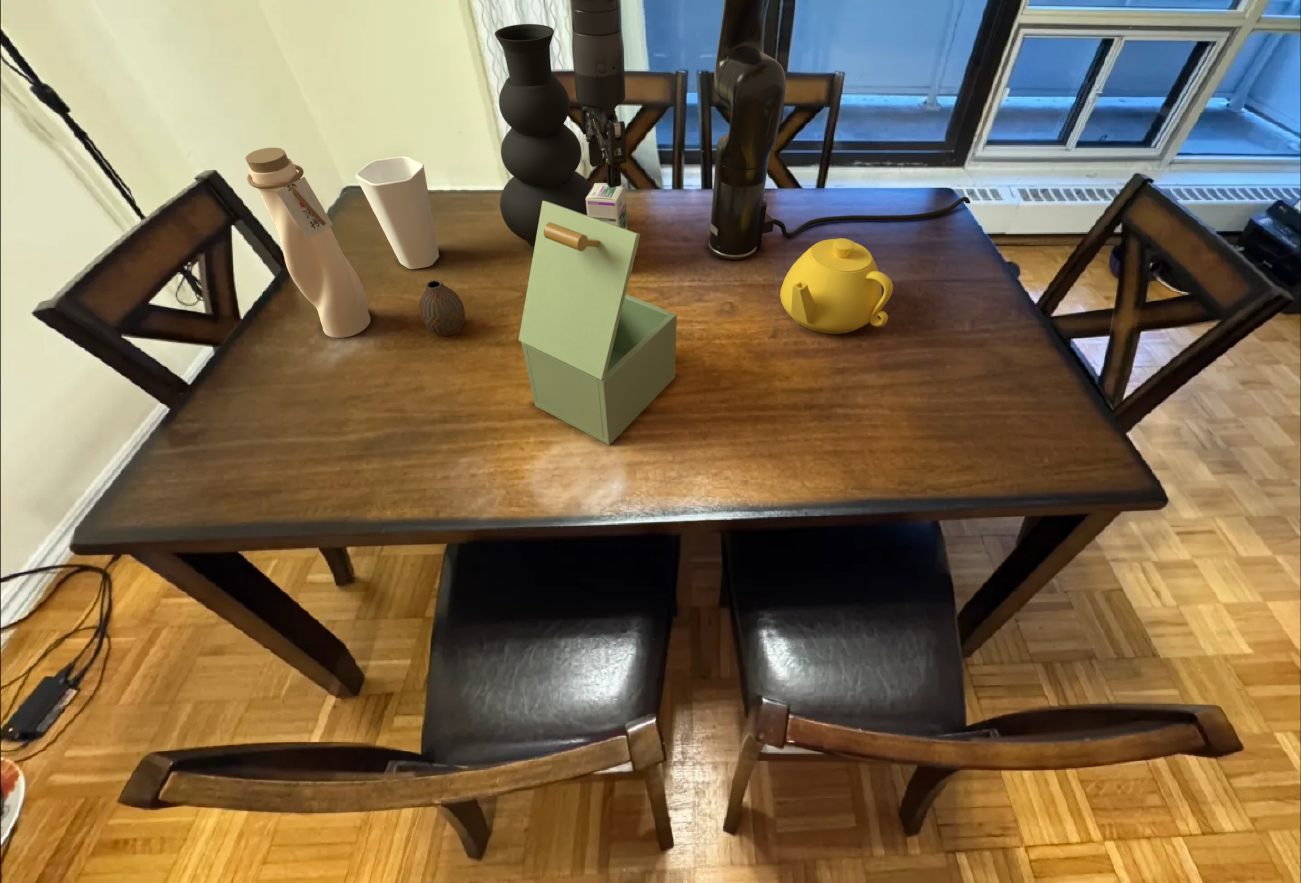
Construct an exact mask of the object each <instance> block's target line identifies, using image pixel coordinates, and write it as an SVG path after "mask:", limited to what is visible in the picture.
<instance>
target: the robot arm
mask: <svg viewBox="0 0 1301 883" xmlns="http://www.w3.org/2000/svg"><path fill="white" fill-rule="evenodd" d="M769 2H770V0H723V8H722V16H721V25H720V31H719V38H718V44H717V51H716V58H715V64H714V66H715V67H714V73H713V86H714V92H715V95H716V97H717V99H718V101H719V102H720V104H721V105H722V106H723V107H724V108H726V109H727V110H728V111H730V112H731V113H730V120H729V129H728V133H726V134H724V135H722V136H721V137H720V138H719V139H718V141H717V143H716V150H715V151H716V152H715V161H714V175H713V176H714V177H713V187H712V188H713V189H712V202H711V214H710V223H709V238H708V250H709V251H710V253H711V254H713V255H714V256H715V257H717V258H720V259H723V260H728V261H740V260H746V259H748V258H751V257H753V256H754V255H755V253H757V251H761V247H762V241H763V235H764V234H767V233H768V234H769V233H772V232H773V231H774V225H775V226H778V227H779V228H780V230H781V233H782V234H781V235H782V236H783V237H785V238H787V239H789V238H793V237H796V236H797V235H799V234H800V233H801V232H803V231H804V230H806V228H808V227H810V226H814V225H817V224H818V225H819V224H823V223H831V222H846V221H847V222H848V221H912V220H919V219H927V218H931V217H936V216H940V215H943V214H946V213H949V212H951V211H953V210H954V209H956V208H957V207H958V206H960V204H962V203H965V204H966V205H968V204H969V205H970V204H971V200H970V198H969V197H968V196H962V197H960V198H958V199H957V200H956V201H954V202H953V203H952V204H950V205H949V206H947V207H944V208H940V209H937V210H933V211H929V212H923V213H914V214H891V215H890V214H889V215H885V214H883V215H882V214H881V215H878V214H877V215H872V214H870V215H868V214H865V215H864V214H856V215H855V214H851V215H850V214H849V215H834V216H824V217H818V218H813V219H810V220H808V221H806V222H804V223H803V224H801V225H800V226H799V227H797V229H795V230H794V231H792V232H789V231H788V230H787V227H786V225H785V223H784V222H783V221H781V220H779V219H776V218H773V217H771V216H770V215H769V214H768V213H767V207H768V203H767V201H765V199H764V197H765V189H766V184H767V183H766V182H767V177H768V176H767V174H768V168H769V161H770V155H771V152H772V149H773V148H774V146H775V145H776V141H777V138H778V134H779V129H780V124H781V119H782V115H783V110H784V104H785V99H786V90H787V80H786V79H787V78H786V73H785V70H784V68H783V66H782V64H780V62H779V61H777V60H776V59H775V58H773V57H772V56H770V55H769V54H766V53H764V38H765V37H764V35H765V26H766V16H767V10H768V6H769ZM569 6H570V7H569V8H570V20H571V33H572V34H571V36H572V38H571V52H572V65H573V77H574V88H575V98H576V99H575V100H576V101H577V102H578V104H579V106H580V121H581V133H582V135H583V136H584V135H585V141H586V143H587V146H588V159H589V165H590V166H591V167H593V168H595V167H600V166H603V164H604V160H605V163H606V164H605V169H606V183H607V185H608V186H609V187H610V188H613V187H618V186H620V185H622V165H623V164H626V163H627V162H628V157H627V156H628V155H627V136H626V123H625V121H624V120H621V121H619V117H618V116H617V113H616V108H617V107H618V106H619V105H621V104H623V102H624V101H625V99H626V72H625V46H624V38H623V29H622V28H623V27H622V26H623V25H622V1H621V0H569Z"/></svg>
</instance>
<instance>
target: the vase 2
mask: <svg viewBox="0 0 1301 883" xmlns="http://www.w3.org/2000/svg"><path fill="white" fill-rule="evenodd" d="M554 33H555V30H554V28H553V27H551V26H549V25H544V24H540V23H539V24H538V23H520V24H513V25H512V24H511V25H507V26H504V27H501V28H499V29H497V30H496V31H495V32H494V36H495V38H496V39H497V41H498V43H499V44H500V46H501V47H502V50H503V53H504V58H505V62H506V68H507V71H508V77H507V78H506V79H505V81H504V84H503V86H502V87H501V90H500V92H499V97H498V106H499V111H500V115H501V116H502V118H503V120H504V121H505V122H506V124H507V125H508V126H509V127H510V129H509V130H508V132H507V133H506V134H505V136H504V138H503V140H502V143H501V145H500V146H501V147H500V157H501V161H502V163H503V165H504V168H505V169H506V170H507V172H509V174H511V175H512V177H510V179H509V180H508V181H507V182H506V184H505V186H504V188H503V189H502V191H501V194H500V200H499V208H500V213H501V214H500V215H501V216H502V219H503V221H504V223H505V225H506V227H507V228H508V229H509V230H510V231H511V232H512V233H513V234H514V235H515V236H517V237H518V238H520V239H522V240H524V241H525V242H526V243H527V244H528V245H529V246H530V247H533V248H534V247H535V242H536V236H537V230H538V224H539V218H540V213H541V207H542V201H547V202H550V203H553V204H556V205H559V206H562V207H564V208H567V209H570V210H573V211H576V212H579V213H581V214H584V215H587V206H586V197H587V196H588V194H589V192H590V190H591V189H592V188H593V186H592V185H591V183H590V182H589V180H588V179H587V178H586V177H585V176H584V175H582V174H581V173H579V172H577V171H576V170H577V169H578V168H579V165H580V163H581V160H582V155H583V154H582V153H583V152H582V146H581V142H580V140H579V137H578V136H577V135H576V134H575V132H574V131H573V130H572V129H571V128H570V127H569V126H567V125H566V124H565V122H566V120H568V119H567V118H568V116H569V113H570V109H571V104H570V103H571V101H570V96H569V93H568V91H567V89H566V88H565V86H564V85H563V84H562V82H561V81H560V80H559V79H558V78H557V76H555V75H554V74H552V60H551V43H552V39H553V37H554Z"/></svg>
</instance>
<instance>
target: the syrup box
mask: <svg viewBox="0 0 1301 883" xmlns="http://www.w3.org/2000/svg"><path fill="white" fill-rule="evenodd" d="M626 194H627V193H626V186H625V185H624V184H621V185H620V186H618V187H613V188H610V187H609V186H608V185H607V182H594V183H593V186H592V189H591V190H590V192H589V194H588V196H587V197H586V206H587V216H590V217H593V218H595V219H598V220H601V221H604V222H607V223H610V224H612V225H615V226H618V227H621V228H624V229H627V230H629V229H628V215H627V214H628V212H627V198H626V197H627V196H626Z"/></svg>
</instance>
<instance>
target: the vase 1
mask: <svg viewBox="0 0 1301 883" xmlns="http://www.w3.org/2000/svg"><path fill="white" fill-rule="evenodd" d="M419 313H420V317H421V319H422V321H423V324H424V325H425V326H426V328H427V329H428V330H429V331H430V332H432V333H434V334H436V335H438V336H441V337H450V336H453V335H456V334H457V333H459V332H460V331H461V329H462V328H463V327H464V325H465V321H466V309H465V305H464V302H463V301H462V299H461V297H460V296H459V295H458V293H457V292H456V291H454V290H453V289H452V288H450V287H448V286H447V285H445V284H444V283H443V281H441V280H439V279H433V280H430V281H428V282H427V283H426V284H425V289H424V291H423V294H422V295H421V298H420V300H419Z"/></svg>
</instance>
